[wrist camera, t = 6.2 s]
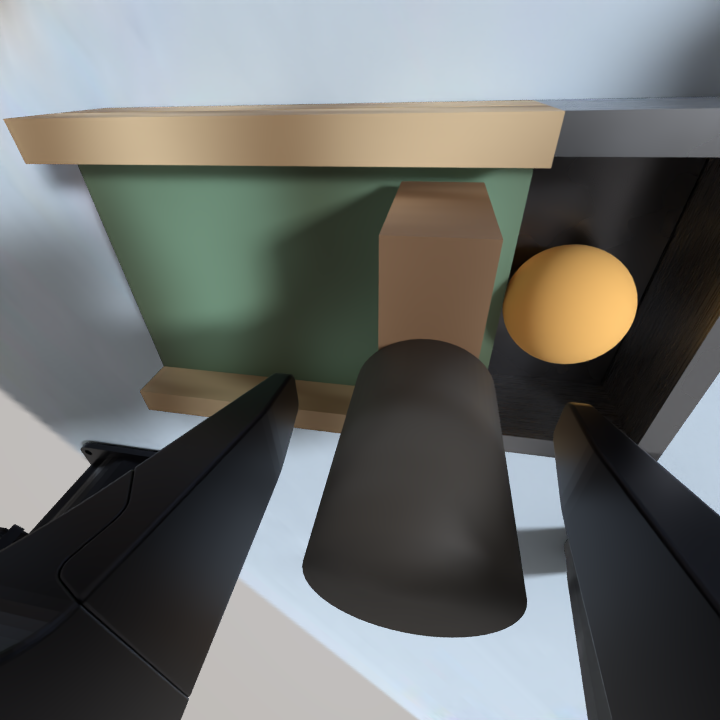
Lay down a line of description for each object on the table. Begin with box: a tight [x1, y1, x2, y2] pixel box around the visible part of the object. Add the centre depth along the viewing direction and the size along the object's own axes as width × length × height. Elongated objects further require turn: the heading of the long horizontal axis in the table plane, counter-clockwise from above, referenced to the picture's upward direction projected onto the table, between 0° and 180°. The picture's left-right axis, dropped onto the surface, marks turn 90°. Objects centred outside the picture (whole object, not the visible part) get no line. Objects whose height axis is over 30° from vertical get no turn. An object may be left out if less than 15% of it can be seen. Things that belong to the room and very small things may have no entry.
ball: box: [502, 244, 637, 364], centre depth 11 cm, size 4×4×4 cm
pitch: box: [4, 100, 565, 433], centre depth 13 cm, size 13×10×4 cm
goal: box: [488, 97, 720, 461], centre depth 11 cm, size 6×10×4 cm, turn 1°
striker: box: [302, 181, 527, 637], centre depth 8 cm, size 3×7×8 cm, turn 2°
